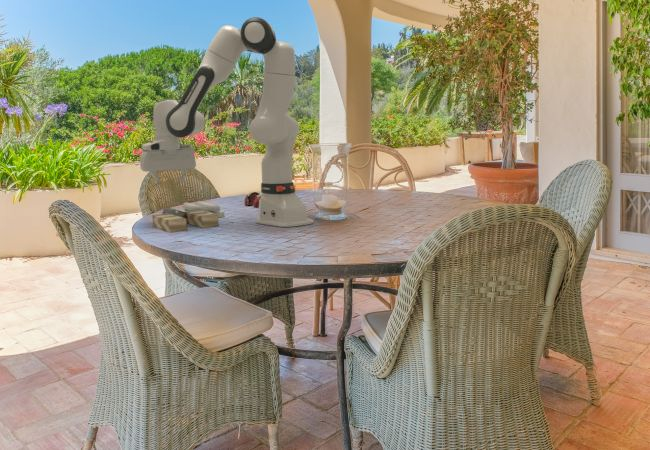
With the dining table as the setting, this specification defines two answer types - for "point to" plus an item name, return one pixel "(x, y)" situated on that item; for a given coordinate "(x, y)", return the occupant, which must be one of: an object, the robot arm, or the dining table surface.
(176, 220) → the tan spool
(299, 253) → the dining table surface
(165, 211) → the axle
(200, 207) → the plate with parallel rods
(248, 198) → the teeth model
